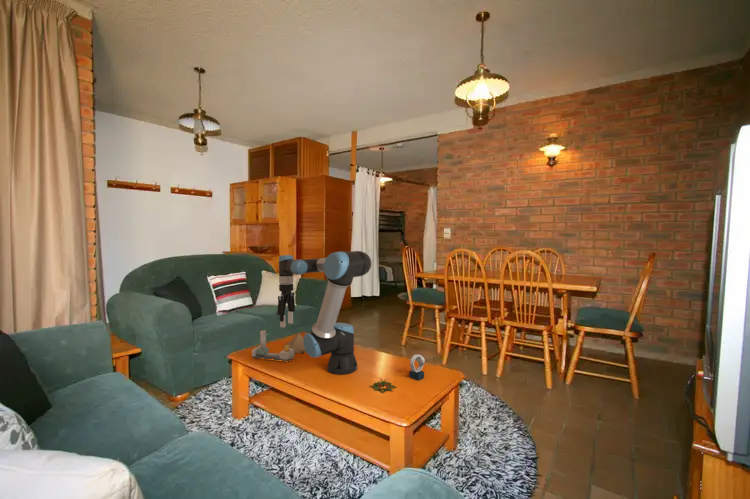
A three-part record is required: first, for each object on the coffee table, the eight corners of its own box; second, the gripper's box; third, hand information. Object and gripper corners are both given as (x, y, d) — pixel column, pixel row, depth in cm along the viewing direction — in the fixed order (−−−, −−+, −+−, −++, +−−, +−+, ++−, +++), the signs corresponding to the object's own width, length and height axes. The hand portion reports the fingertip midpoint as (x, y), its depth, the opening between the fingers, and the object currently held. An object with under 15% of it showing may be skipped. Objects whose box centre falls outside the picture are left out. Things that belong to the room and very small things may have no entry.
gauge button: (289, 352, 184) (289, 344, 184) (287, 353, 182) (287, 346, 182) (286, 351, 184) (286, 344, 184) (284, 353, 182) (284, 345, 182)
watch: (426, 377, 160) (426, 354, 160) (416, 382, 155) (416, 358, 154) (417, 373, 164) (417, 351, 164) (406, 378, 159) (406, 355, 158)
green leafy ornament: (383, 380, 158) (383, 370, 158) (402, 388, 149) (402, 378, 149) (364, 387, 150) (364, 377, 150) (382, 397, 141) (382, 386, 141)
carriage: (269, 352, 189) (268, 330, 188) (263, 355, 184) (263, 332, 183) (262, 352, 190) (262, 329, 189) (257, 355, 185) (257, 332, 184)
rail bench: (294, 357, 186) (294, 348, 186) (288, 362, 179) (287, 353, 179) (259, 354, 192) (259, 345, 191) (252, 358, 185) (252, 349, 185)
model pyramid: (288, 356, 189) (288, 339, 189) (282, 347, 204) (281, 331, 204) (317, 351, 197) (317, 335, 196) (308, 343, 212) (308, 328, 212)
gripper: (289, 280, 192) (289, 320, 193) (269, 285, 173) (270, 329, 174) (301, 281, 191) (301, 321, 191) (282, 286, 171) (283, 330, 172)
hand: (286, 325), depth 182 cm, fingers open, 8 cm apart
